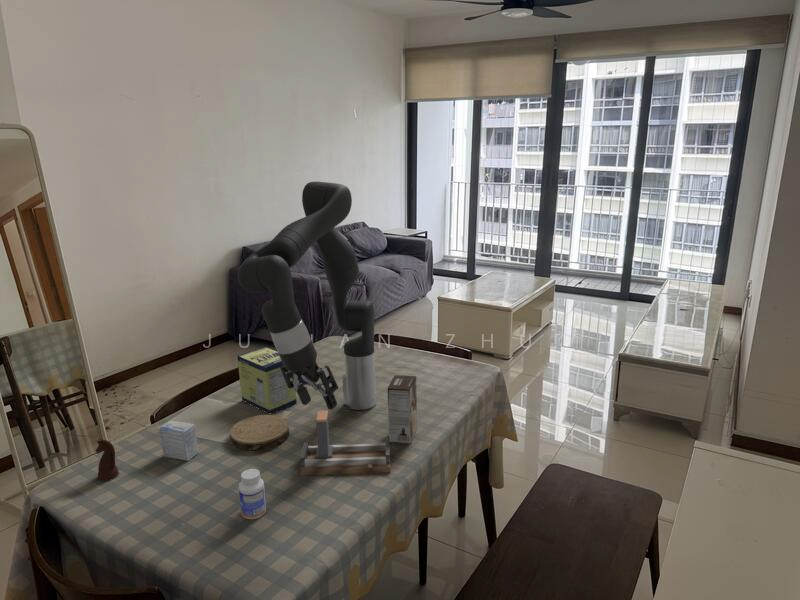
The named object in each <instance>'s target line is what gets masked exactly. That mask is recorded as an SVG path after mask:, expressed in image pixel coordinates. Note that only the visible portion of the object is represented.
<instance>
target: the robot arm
mask: <svg viewBox="0 0 800 600" xmlns="http://www.w3.org/2000/svg"><path fill="white" fill-rule="evenodd" d="M352 199H353V198H352V193H351V190H350V188H349V187H348V186H347V185H345V184H341V183H336V182H326V181H325V182H324V181H310V182H308V183H306V184H305V185H304V187H303V189H302V194H301V202H302V208H303V211H304V215H305V216H304V217H301V218H300V219H297V220H294V221H293V222H291V223H289V224H287V225H285V227H283V228H282V229H281V230H280V231H279V232H278V233H277V234H276V235H275V236H274V238H272V239H271V241H270V242H269V243H267V244H266V245H264V246H262V247H260V248H259V249H258V250H256V251H255V252H253V253H252V254H250V255H249V256H248V257H247V258H245V259H244V260H243V262H242V263H241V264H240V266H239V268H238V273H237V280H238V283H239V286H240V287H241V288H242V289H243V290H245V291H246V292H248V293H251V294H252V293H263V292H270V295H271V299H269V300H267V301H266V302H265V303H263V305H262V308H261V313H262V316H263V319H264V321H265V323H266V325H267V328H268V330H269V333H270V335H271V339H272V342H273V345H274V346H275V349H276V351H277V352H278V354H279V356H280V358H281V361H282V363H283V366H281V367H280V369H281V371H282V374H283V376H284V379H285V381H286V384H287V386H288V388H290V389H291V388H293V389H294V391H296V394H297V395H298V397H299V400H300V401H301V404H302V405H304V406H306V405H308V404H309V403H311V401H312V398H311V396H310V393H309V391H308V388H307V386H310V387H311V388H312V389H313V390H314V391H317V392H319V394H321V395H322V397H323V399H324V402H325V405H326V407H327V409H328V411H329V410H330V411H332V410H334V409H335V408H336V407H337V406H338V401H337V398H336V397H335V394H334V393H335V392H337V390H338V389H339V385H338V384H337V382H336V379H335V378H334V375H333V372H332V370H331V368H330V366H329V365H325V366H323V367H320V366H319V365H318V363H317V358H318V352H317V350H316V348H315V345H314V342H313V339H312V338H311V336H310V333H309V330H308V328H307V326H306V325H305V323H304V321H303V319H302V317H301V314H300V312H299V309H298V308H297V305H296V303H295V294H294V288H293V287H294V286H293V278H292V277H293V276H292V271H291V268H292V267H294V266H295V265H296V264H297V263H298V262H299V261H300V260H301V258H302V257H303V256H304V255H305V254H306V252H307V251H308V250H309V249H310V248H311V247H312V245H314V243H316V245H317V247H318V248H317V249H318V251H319V255H320V258H321V263H322V266H323V270H324V272H325V276H326V279H327V281H328V284H329V289H330V293H331V296H332V301H333V302H332V303H333V306H334V307H333V308H334V312H335V319H336V322H337V325H338V327H339V329H341V330H342V331H345V332H360V333H361V335H360V336H358V337H355V338H351V339H349V340H348V341H345V343H344V344H343V356H344V357H343V359H344V360H343V361H344V362H343V363H344V375H342V378H341V379H342V392H343V393H342V396H343V405H345V406H347V408H349V409H351V410H356V411H365V410H369V409H371V408H373V407H375V405H376V404H377V394H376V365H375V364H376V363H375V308H374V304H373V303H372V302H371V301H368V300H349V299H348V297H347V296H348V295H349V294H348V293H349V292H350V291H351V289H352V287H353V286H354V284H355V283H356V282H357V279H358V276H359V273H360V268H359V263H358V259H357V255H356V251H355V249H354V247H353V246H352V245H351V243H350V242H349V241H348V240H347V239H346V238H345V237H344V236H343V235H342V234H341V233H340V232H339V231H338V229H337V228H336V227H337V226H338V225H340V224H341V223H342V222H343V221H344V220H346V218H347V217H348V216H349V214H350V212H351V209H352V203H353V201H352ZM291 377H292V379H293V381H290V378H291ZM319 380H320V381H319ZM318 381H319V383H318ZM305 385H307V386H305ZM323 387H324V388H323Z"/></svg>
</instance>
